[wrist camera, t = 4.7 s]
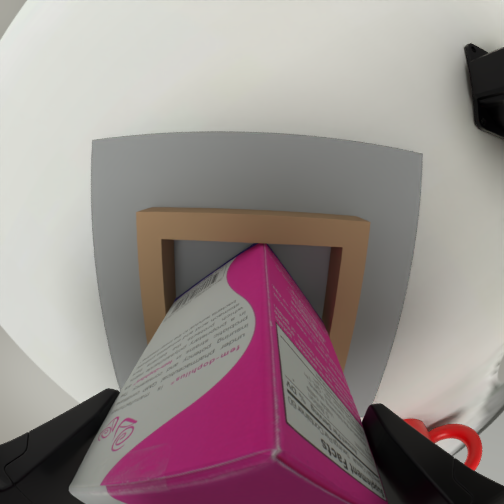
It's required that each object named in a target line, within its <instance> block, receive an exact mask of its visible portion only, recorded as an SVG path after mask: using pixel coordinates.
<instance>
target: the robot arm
mask: <svg viewBox="0 0 504 504" xmlns="http://www.w3.org/2000/svg"><path fill="white" fill-rule="evenodd" d="M465 49H466V54H467V59H468V64H469V70H470V76H471V83H472V91H473V100H474V112H475V122H476V125H477V127H478V128H479V129H481V130H483V131H486V132H488V133H490V134H493V135H495V136H497V137H499V138H502V139H504V47H502V48H500V49H497V50H495V51H493V52H490V53H488V52H486V51H484V50H483V49H481V48H479V47H477V46H475V45H474V44H471V43H470V44H467V45H466V46H465ZM481 120H482V122H481ZM119 393H120V392H119V391H118V390H114V389H110V388H108V389H105V390H103V391H102V392H100V393H98V394H96V395H95V396H93V397H91V398H89V399H88V400H86V401H84V402H82V403H81V404H79V405H77V406H75V407H74V408H72V409H70V410H68V411H66V412H65V413H63V414H61V415H59V416H57V417H56V418H54V419H52V420H50V421H48V422H46V423H44V424H43V425H41V426H39V427H37V428H35V429H33V430H31V431H30V432H27V433H25V434H23V435H22V436H19V437H17V438H15V439H13V440H11V441H9V442H7V443H4V444H1V445H0V504H85V503H83V502H82V501H80V500H79V499H77V498H76V497H74V496H73V495H72V494H71V493H70V492H69V486H70V484H71V482H72V481H73V479H74V477H75V475H76V473H77V471H78V469H79V467H80V465H81V463H82V461H83V459H84V457H85V455H86V453H87V451H88V450H89V448H90V446H91V444H92V442H93V440H94V438H95V436H96V435H97V433H98V431H99V429H100V427H101V426H102V424H103V422H104V420H105V418H106V417H107V415H108V413H109V411H110V409H111V407H112V406H113V404H114V402H115V400H116V398H117V397H118V395H119ZM362 425H363V428H364V431H365V434H366V437H367V440H368V443H369V446H370V449H371V451H372V454H373V457H374V460H375V463H376V466H377V469H378V472H379V475H380V478H381V481H382V484H383V488H384V491H385V494H386V498H387V501H388V504H504V486H503V485H501V484H499V483H496V482H495V481H493V480H491V479H489V478H487V477H485V476H483V475H481V474H479V473H477V472H476V471H474V470H472V469H471V468H469V467H468V466H466V465H465V464H463V463H461V462H460V461H459V460H457V459H455V458H454V457H453V456H451V455H450V454H449V453H447V452H446V451H445V450H443V449H442V448H440V447H439V446H438V445H436V444H435V443H433V442H432V441H431V440H429V439H428V438H427V437H425V436H424V435H423V434H421V433H420V432H419V431H417V430H416V429H415V428H413V427H412V426H411V425H409V424H408V423H407V422H405V421H404V420H403V419H401V418H400V417H399V416H397V415H396V414H395V413H393V412H392V411H391V410H390V409H388V408H387V407H386V406H384V405H383V404H380V403H379V404H371V405H369V406H368V408H367V411H366V413H365V416H364V418H363V420H362Z"/></svg>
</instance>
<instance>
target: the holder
mask: <svg viewBox="0 0 504 504" xmlns="http://www.w3.org/2000/svg"><path fill="white" fill-rule="evenodd" d="M422 158H423V154H422V153H417V152H413V151H408V150H403V149H398V148H393V147H387V146H382V145H376V144H370V143H363V142H357V141H350V140H342V139H334V138H326V137H317V136H306V135H294V134H280V133H262V132H175V133H157V134H144V135H132V136H122V137H113V138H105V139H97V140H92V156H91V212H92V231H93V245H94V256H95V266H96V274H97V282H98V290H99V296H100V303H101V309H102V315H103V320H104V325H105V330H106V335H107V340H108V345H109V349H110V354H111V358H112V362H113V366H114V370H115V374H116V377H117V381H118V385H119V388H120V391H121V390H122V388H123V386H124V384H125V383H126V381H127V379H128V378H129V376H130V374H131V373H132V371H133V369H134V367H135V366H136V364H137V362H138V361H139V359H140V357H141V356H142V354H143V352H144V351H145V349H146V347H147V346H148V344H149V342H150V341H151V339H152V338H153V336H154V334H155V333H156V331H157V329H158V328H159V326H160V324H161V323H162V321H163V319H164V318H165V316H166V314H167V313H168V311H169V309H170V308H171V306H172V304H173V302H174V300H175V299H176V298H177V297H179V296H180V295H181V294H183V293H184V292H185V291H187V290H188V289H189V288H191V287H192V286H193V285H195V284H196V283H198V282H199V281H200V280H202V279H203V278H204V277H206V276H207V275H209V274H210V273H212V272H213V271H214V270H216V269H217V268H219V267H220V266H222V265H223V264H224V263H226V262H227V261H229V260H230V259H232V258H233V257H234V256H236V255H237V254H239V253H240V252H242V251H243V250H245V249H246V248H248V247H249V246H251V245H252V244H254V243H266V244H268V245H269V247H270V248H271V249H272V251H273V252H274V253H275V255H276V256H277V257H278V259H279V260H280V262H281V263H282V264H283V266H284V267H285V268H286V270H287V271H288V273H289V274H290V275H291V277H292V278H293V280H294V281H295V282H296V284H297V285H298V287H299V288H300V290H301V291H302V292H303V294H304V295H305V297H306V298H307V299H308V301H309V302H310V304H311V305H312V307H313V308H314V309H315V311H316V312H317V314H318V315H319V317H320V318H321V319H322V321H323V322H324V325H325V327H326V330H327V332H328V335H329V338H330V340H331V343H332V345H333V348H334V350H335V353H336V355H337V358H338V360H339V363H340V366H341V368H342V371H343V374H344V376H345V379H346V382H347V384H348V387H349V390H350V393H351V395H352V398H353V400H354V403H355V406H356V408H357V411H358V413H359V416H360V417H364V416H365V413H366V411H367V408H368V406H369V405H371V404H372V403H373V401H374V398H375V396H376V393H377V390H378V388H379V385H380V382H381V379H382V376H383V373H384V370H385V367H386V364H387V361H388V358H389V355H390V352H391V349H392V345H393V342H394V338H395V335H396V331H397V327H398V324H399V320H400V316H401V312H402V308H403V304H404V299H405V295H406V290H407V285H408V280H409V275H410V270H411V265H412V259H413V253H414V246H415V240H416V232H417V224H418V216H419V206H420V195H421V180H422Z"/></svg>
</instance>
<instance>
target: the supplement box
mask: <svg viewBox="0 0 504 504" xmlns="http://www.w3.org/2000/svg"><path fill="white" fill-rule="evenodd" d="M69 492H70V493H71V494H72V495H73V496H74V497H76V498H77V499H79V500H80V501H82V502H83V503H85V504H388V501H387V498H386V494H385V491H384V488H383V484H382V481H381V478H380V475H379V472H378V469H377V466H376V463H375V460H374V457H373V454H372V451H371V449H370V446H369V443H368V440H367V437H366V434H365V431H364V428H363V425H362V422H361V419H360V416H359V413H358V411H357V408H356V406H355V403H354V400H353V398H352V395H351V393H350V390H349V387H348V384H347V382H346V379H345V376H344V374H343V371H342V368H341V366H340V363H339V360H338V358H337V355H336V353H335V350H334V348H333V345H332V343H331V340H330V338H329V335H328V332H327V330H326V327H325V325H324V322H323V321H322V319H321V318H320V317H319V315H318V314H317V312H316V311H315V309H314V308H313V307H312V305H311V304H310V302H309V301H308V299H307V298H306V297H305V295H304V294H303V292H302V291H301V290H300V288H299V287H298V285H297V284H296V282H295V281H294V280H293V278H292V277H291V275H290V274H289V273H288V271H287V270H286V268H285V267H284V266H283V264H282V263H281V262H280V260H279V259H278V257H277V256H276V255H275V253H274V252H273V251H272V249H271V248H270V247H269V245H268V244H266V243H254V244H252V245H251V246H249V247H248V248H246V249H245V250H243V251H242V252H240V253H239V254H237V255H236V256H234V257H233V258H232V259H230V260H229V261H227V262H226V263H224V264H223V265H222V266H220V267H219V268H217V269H216V270H214V271H213V272H212V273H210V274H209V275H207V276H206V277H204V278H203V279H202V280H200V281H199V282H198V283H196V284H195V285H193V286H192V287H191V288H189V289H188V290H187V291H185V292H184V293H183V294H181V295H180V296H179V297H177V298H176V299H175V300H174V302H173V304H172V306H171V308H170V309H169V311H168V313H167V314H166V316H165V318H164V319H163V321H162V323H161V324H160V326H159V328H158V329H157V331H156V333H155V334H154V336H153V338H152V339H151V341H150V342H149V344H148V346H147V347H146V349H145V351H144V352H143V354H142V356H141V357H140V359H139V361H138V362H137V364H136V366H135V367H134V369H133V371H132V373H131V374H130V376H129V378H128V379H127V381H126V383H125V384H124V386H123V388H122V390H121V391H120V393H119V395H118V397H117V398H116V400H115V402H114V404H113V406H112V407H111V409H110V411H109V413H108V415H107V417H106V418H105V420H104V422H103V424H102V426H101V427H100V429H99V431H98V433H97V435H96V436H95V438H94V440H93V442H92V444H91V446H90V448H89V450H88V451H87V453H86V455H85V457H84V459H83V461H82V463H81V465H80V467H79V469H78V471H77V473H76V475H75V477H74V479H73V481H72V482H71V484H70V486H69Z"/></svg>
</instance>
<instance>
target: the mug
mask: <svg viewBox="0 0 504 504" xmlns="http://www.w3.org/2000/svg"><path fill="white" fill-rule="evenodd" d="M403 420H404V421H405V422H407V423H408V424H409V425H411V426H412V427H413V428H415V429H416V430H417V431H419V432H420V433H421V434H423V435H424V436H425V437H427V438H428V439H429V440H431V441H432V442H433V443H436V442H437V441H440V440H442V439H447V438H454V439H458V440H460V441H462V442H463V443H464V444H465V445H466V447H467V449H468V456H467V459H466V461H465V463H464V464H465V465H466V466H468V467H469V468H471V469H472V470H474V471H475V470H476V468H477V466H478V465H479V462H480V460H481V456H482V443H481V440H480V438H479V436H478V434H477V433H476V432H475V431H474V430H473V429H472V428H470V427H468V426H465V425H462V424H447V425H443V426H439V427H437V428H435V429H432V430H431V431H429V432H428V430H427V428H426V427H425V425H424V423H423V422H422V421H420V420H418V419H403Z"/></svg>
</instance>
